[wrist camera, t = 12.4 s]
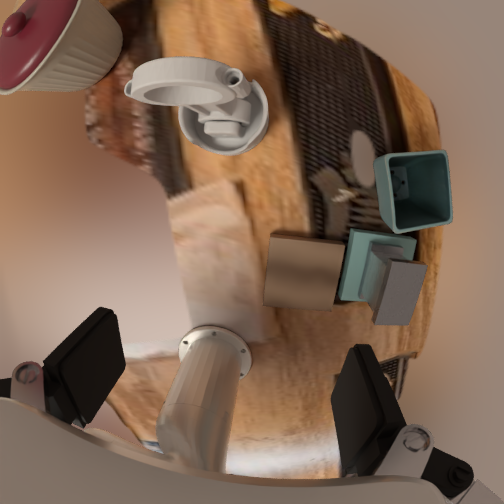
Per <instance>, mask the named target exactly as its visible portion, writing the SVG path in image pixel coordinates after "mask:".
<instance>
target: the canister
mask: <svg viewBox="0 0 504 504" xmlns="http://www.w3.org/2000/svg"><path fill="white" fill-rule="evenodd" d="M122 36H123V34H122V31H121V28H120V26H119V25H118V23H117V21H116V20H115V19H114V18H113V16H112V15H111V14H110V13H109V12H108V11H107V9H106V8H105V7H104V6H103V5H102V4H101V3H100V2H99V1H98V0H26V1H25V2H24V3H23V4H22V5H21V6H20V8H19V9H18V10H17V11H16V12H15V13H13V14H12V15H10V16H9V17H8V18H7V20H6V21H5V23H4V25H3V27H2V35H1V37H0V94H2V95H8V94H11V93H14V92H16V91H17V90H37V91H79V90H83V89H86V88H87V87H91V86H92V85H93V84H96V83H97V82H98V81H99V80H101V79H102V78H103V77H104V76H105V75H106V74H107V73H108V72H109V71H110V69H111V68H112V67H113V66H114V63H115V62H116V61H117V58H118V56H119V54H120V51H121V47H122V45H123V44H122V41H123V37H122Z"/></svg>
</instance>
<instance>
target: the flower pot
mask: <svg viewBox="0 0 504 504" xmlns="http://www.w3.org/2000/svg"><path fill="white" fill-rule="evenodd" d="M373 167H374V173H375V180H376V186H377V194H378V202H379V211H380V215H381V217H382V219H383V220H384V222H385V223H386V224H387V225H388V226H389V227H390V228H391V229H392V231H393V232H394V233H396V234H400V233H404V232H409V231H414V230H420V229H425V228H430V227H435V226H441V225H446V224H450V223H451V222H452V219H453V210H452V195H451V184H450V171H449V162H448V156H447V153H446V151H445V150H433V151H420V152H406V153H390V154H386V155H383V156H381V157H378V158H376V159H375V160H374V163H373ZM390 171H393V174H391V173H390ZM402 181H404V184H402V183H401V182H402ZM394 193H396V196H395V197H394V196H393V194H394Z"/></svg>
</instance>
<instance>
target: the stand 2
mask: <svg viewBox="0 0 504 504" xmlns="http://www.w3.org/2000/svg"><path fill="white" fill-rule="evenodd" d="M369 241H370V242H378V243H385V244H393V245H400V246H402V247H403V248H404V251H403V256H404V257H406V258H407V259H408V260H411V261H412V259H413V255H414V251H415V246H416V242H417V240H415V239H414V238H412V237H409V236H402V235H396V234H389V233H382V232H375V231H368V230H360V229H353V228H351V230H350V236H349V241H348V247H347V252H346V258H345V263H344V268H343V273H342V277H341V282H340V287H339V291H338V295H339V297H340V299H341V300H349V301H365V302H367V301H366V299H359V297H358V295H357V294H358V291H359V287H360V283H361V278H362V274H363V270H364V265H365V261H366V256H367V251H368V247H369Z"/></svg>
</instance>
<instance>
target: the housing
mask: <svg viewBox="0 0 504 504" xmlns="http://www.w3.org/2000/svg"><path fill="white" fill-rule="evenodd" d="M403 251H404V248H403V247H402V246H400V245H393V244H385V243H378V242H370V241H369V247H368V251H367V256H366V261H365V265H364V270H363V274H362V278H361V283H360V287H359V291H358V294H357V295H358V297H359V299H366V301H367V302H368V304H369V306H370V307H371V309H372V311H373V312H374V313H373V316H372V321H373V323H374V325H409V322H410V320H411V317H412V314H413V311H414V308H415V306H416V303H417V300H418V297H419V293H420V290H421V287H422V284H423V280H424V277H425V274H426V270H427V266H428V265H427V264H425V263H424V262H420V261H411V260H408V259H407V258H406V257H404V256H403Z"/></svg>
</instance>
